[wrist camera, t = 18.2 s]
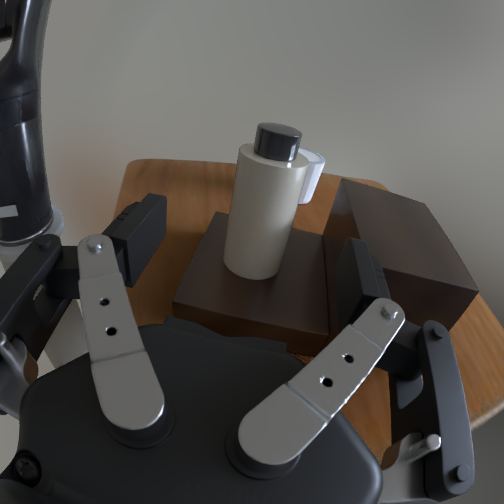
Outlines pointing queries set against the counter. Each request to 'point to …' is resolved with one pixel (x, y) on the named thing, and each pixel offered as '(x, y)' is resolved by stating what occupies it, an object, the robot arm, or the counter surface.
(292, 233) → the stepped wooden block
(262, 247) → the white bottle
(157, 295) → the counter surface
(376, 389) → the counter surface
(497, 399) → the counter surface
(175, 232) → the counter surface
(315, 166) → the white short tapered cylinder
